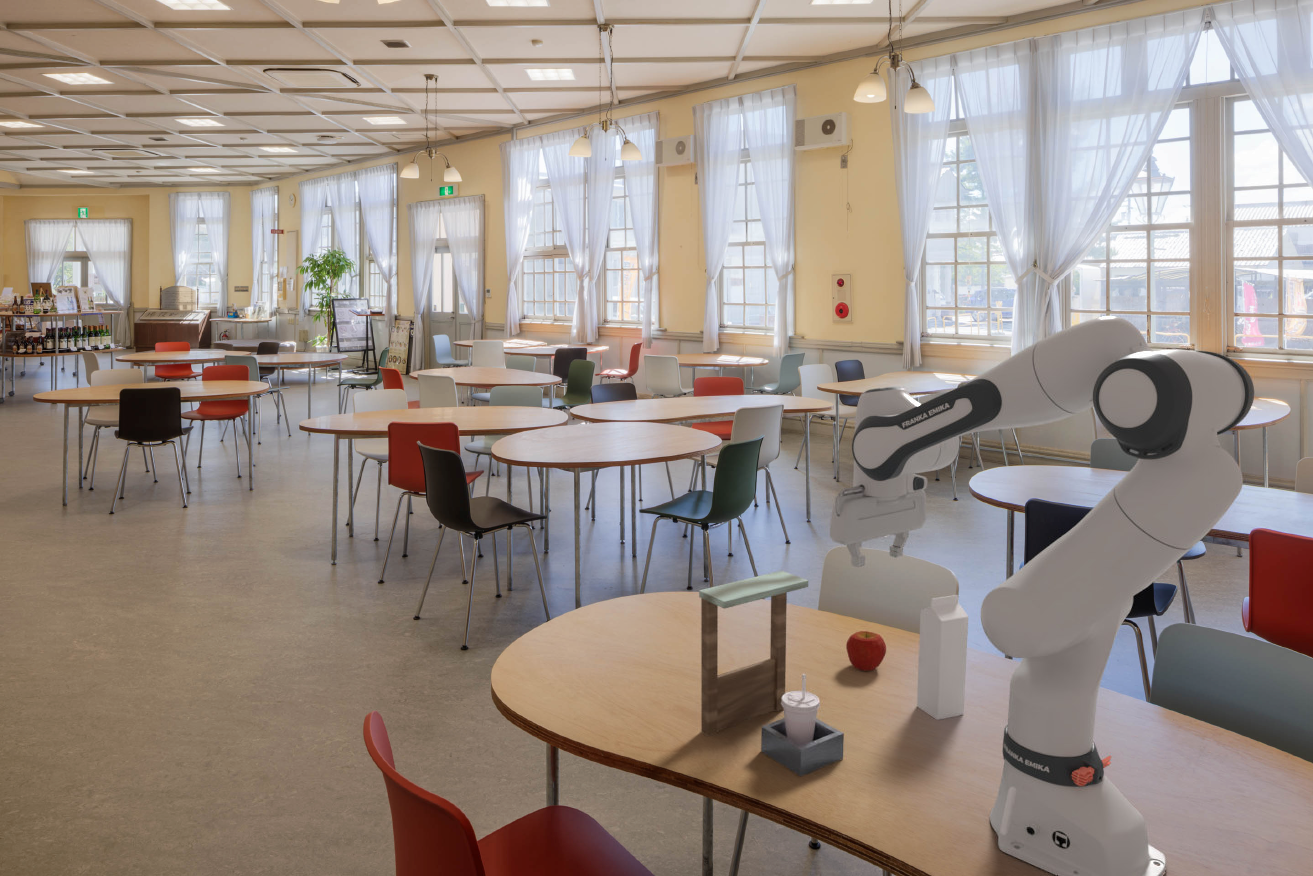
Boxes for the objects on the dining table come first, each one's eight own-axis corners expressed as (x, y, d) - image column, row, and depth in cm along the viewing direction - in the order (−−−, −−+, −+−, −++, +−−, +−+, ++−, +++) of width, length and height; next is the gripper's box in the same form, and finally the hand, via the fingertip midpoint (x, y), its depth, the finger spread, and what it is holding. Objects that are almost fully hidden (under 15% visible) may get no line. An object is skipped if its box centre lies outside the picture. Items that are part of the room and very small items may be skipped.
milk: (916, 706, 163) (920, 593, 159) (943, 701, 165) (947, 589, 161) (937, 721, 157) (941, 604, 154) (964, 715, 159) (969, 599, 156)
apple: (843, 660, 184) (844, 624, 183) (880, 660, 183) (881, 625, 182) (849, 675, 176) (850, 639, 175) (888, 676, 176) (890, 639, 175)
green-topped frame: (805, 718, 158) (808, 580, 154) (723, 749, 148) (724, 601, 144) (779, 704, 164) (781, 570, 160) (699, 732, 154) (699, 590, 149)
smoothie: (819, 763, 143) (821, 683, 141) (780, 761, 144) (781, 681, 141) (817, 744, 149) (819, 667, 147) (780, 742, 150) (781, 665, 148)
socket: (843, 758, 144) (843, 733, 144) (800, 776, 139) (801, 750, 138) (802, 735, 152) (803, 711, 152) (761, 751, 147) (761, 726, 146)
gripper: (850, 493, 138) (848, 576, 140) (934, 477, 150) (930, 555, 152) (822, 486, 143) (820, 567, 146) (905, 472, 155) (902, 547, 157)
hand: (877, 561), depth 149 cm, fingers open, 8 cm apart
